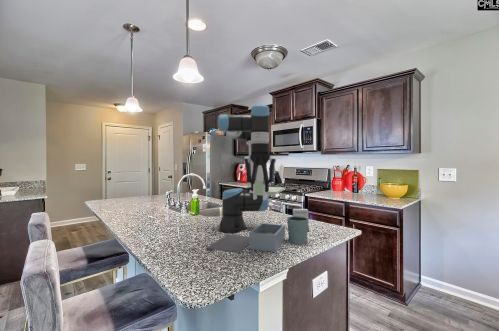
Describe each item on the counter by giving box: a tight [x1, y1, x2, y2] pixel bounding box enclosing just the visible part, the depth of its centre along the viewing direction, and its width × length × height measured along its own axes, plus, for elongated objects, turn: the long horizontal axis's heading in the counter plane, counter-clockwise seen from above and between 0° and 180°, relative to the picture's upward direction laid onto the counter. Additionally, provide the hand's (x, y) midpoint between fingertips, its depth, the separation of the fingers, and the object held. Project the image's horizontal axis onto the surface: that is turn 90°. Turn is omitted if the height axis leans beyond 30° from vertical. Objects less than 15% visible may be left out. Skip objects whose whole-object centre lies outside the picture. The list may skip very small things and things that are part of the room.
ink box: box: [292, 208, 310, 232], centre depth 143 cm, size 9×5×12 cm, turn 84°
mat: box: [206, 233, 249, 254], centre depth 118 cm, size 16×22×1 cm
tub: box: [248, 222, 286, 253], centre depth 116 cm, size 12×18×8 cm, turn 160°
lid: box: [249, 180, 286, 196], centre depth 113 cm, size 12×23×7 cm, turn 160°
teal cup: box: [286, 215, 309, 246], centre depth 120 cm, size 10×10×12 cm
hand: (259, 199), depth 104 cm, fingers closed on lid, 3 cm apart
